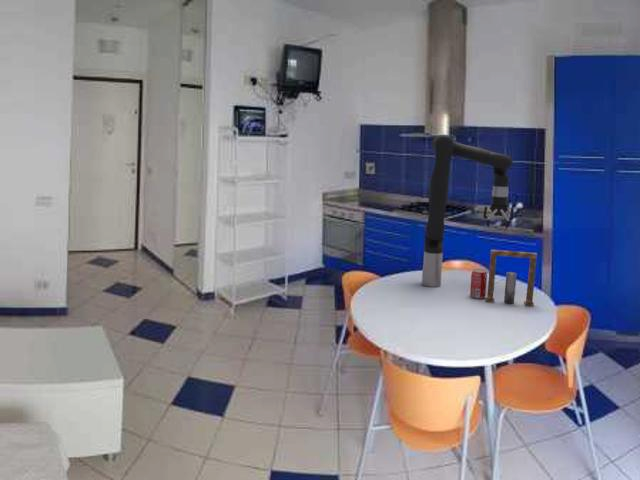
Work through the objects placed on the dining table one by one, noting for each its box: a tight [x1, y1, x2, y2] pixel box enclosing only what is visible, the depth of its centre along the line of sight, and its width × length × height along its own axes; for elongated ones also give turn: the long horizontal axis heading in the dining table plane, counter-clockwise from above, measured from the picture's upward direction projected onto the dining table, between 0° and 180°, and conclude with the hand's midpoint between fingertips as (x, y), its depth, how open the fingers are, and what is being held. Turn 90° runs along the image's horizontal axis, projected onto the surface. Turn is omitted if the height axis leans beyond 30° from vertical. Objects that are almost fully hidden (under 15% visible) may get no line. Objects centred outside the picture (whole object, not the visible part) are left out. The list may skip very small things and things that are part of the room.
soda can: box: [469, 268, 488, 300], centre depth 250 cm, size 7×7×13 cm
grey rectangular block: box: [503, 271, 517, 305], centre depth 242 cm, size 4×5×14 cm
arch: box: [484, 249, 538, 307], centre depth 241 cm, size 21×5×24 cm, turn 73°
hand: (497, 227), depth 265 cm, fingers open, 8 cm apart
